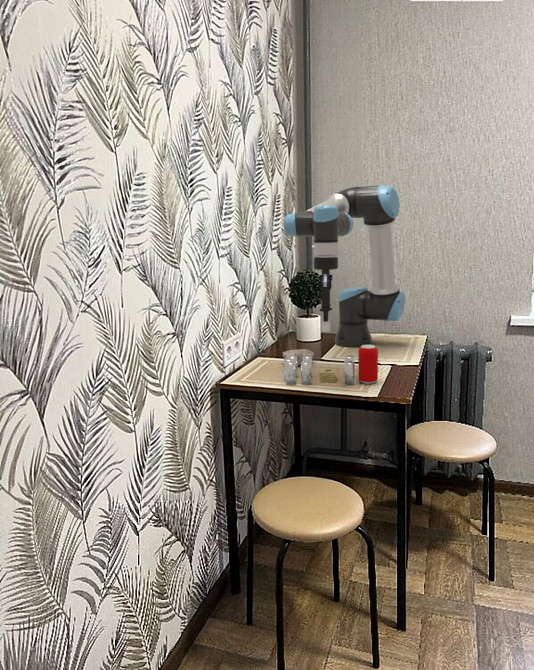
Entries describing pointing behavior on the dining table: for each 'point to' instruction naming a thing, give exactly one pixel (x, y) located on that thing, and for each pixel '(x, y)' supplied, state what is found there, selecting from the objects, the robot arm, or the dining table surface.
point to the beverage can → (368, 364)
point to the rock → (298, 354)
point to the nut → (328, 375)
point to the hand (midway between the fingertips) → (325, 331)
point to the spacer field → (306, 370)
